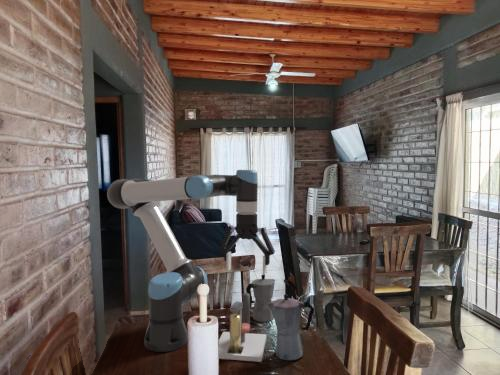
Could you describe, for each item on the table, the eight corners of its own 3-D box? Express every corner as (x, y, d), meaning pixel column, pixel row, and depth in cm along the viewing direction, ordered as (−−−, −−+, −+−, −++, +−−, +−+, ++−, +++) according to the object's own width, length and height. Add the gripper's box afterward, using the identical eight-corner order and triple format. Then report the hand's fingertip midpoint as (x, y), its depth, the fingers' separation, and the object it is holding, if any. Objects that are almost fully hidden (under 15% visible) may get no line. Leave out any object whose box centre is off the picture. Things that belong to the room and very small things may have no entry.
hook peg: (229, 356, 116) (228, 315, 116) (231, 350, 120) (231, 310, 119) (239, 357, 116) (239, 315, 115) (241, 351, 119) (241, 311, 119)
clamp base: (212, 358, 115) (212, 353, 115) (223, 335, 131) (223, 331, 131) (261, 361, 113) (261, 357, 113) (266, 338, 129) (266, 334, 129)
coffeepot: (267, 310, 155) (267, 269, 154) (282, 317, 148) (282, 274, 147) (239, 319, 145) (239, 276, 145) (254, 327, 138) (254, 281, 137)
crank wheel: (242, 352, 115) (242, 308, 115) (225, 349, 117) (224, 305, 117) (255, 334, 128) (255, 294, 128) (239, 331, 130) (239, 292, 130)
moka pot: (268, 345, 123) (268, 288, 123) (313, 349, 121) (313, 291, 120) (265, 360, 114) (265, 298, 113) (314, 364, 112) (314, 301, 111)
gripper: (283, 213, 126) (282, 272, 127) (218, 210, 134) (218, 266, 135) (278, 215, 119) (277, 278, 120) (210, 212, 127) (210, 271, 128)
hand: (246, 272), depth 127 cm, fingers open, 13 cm apart
